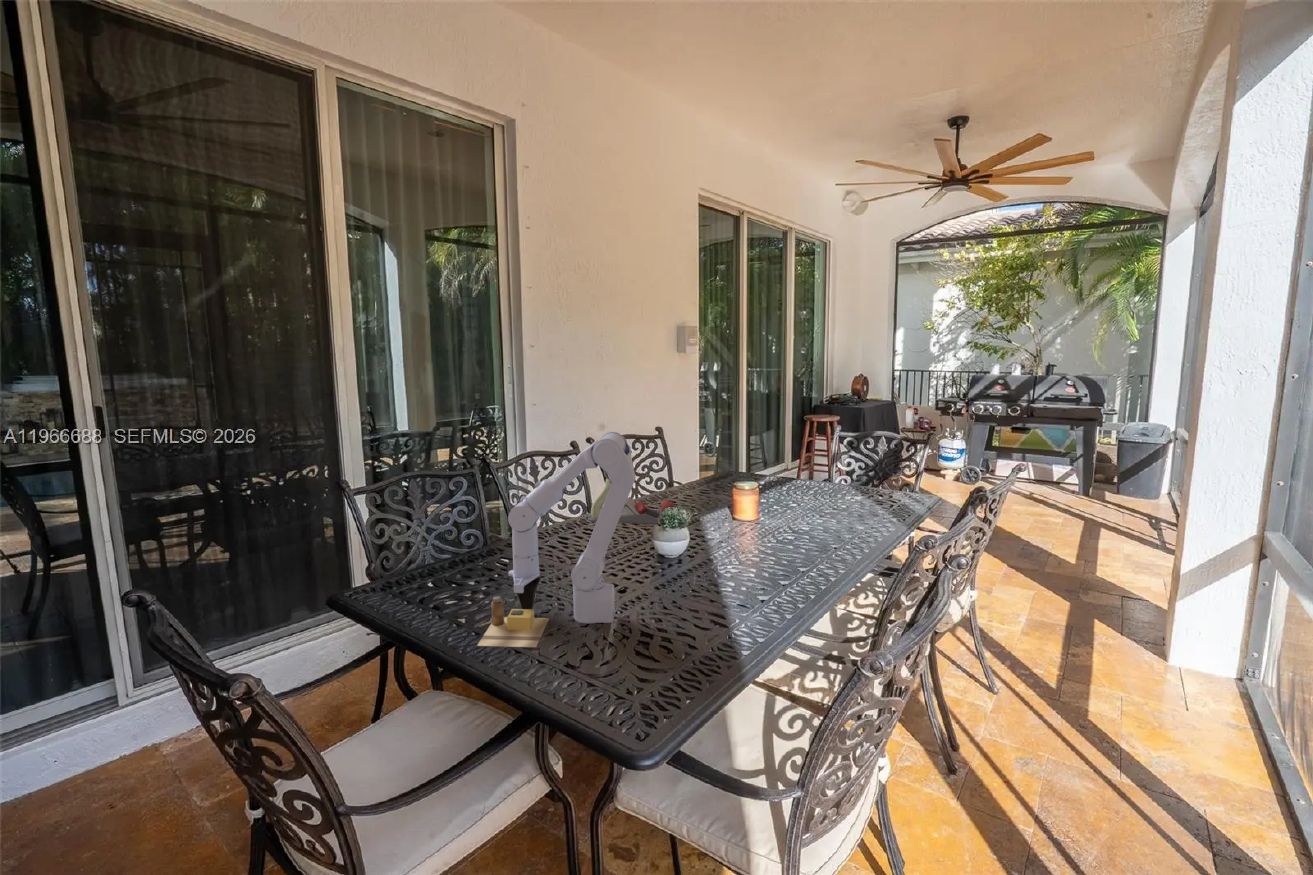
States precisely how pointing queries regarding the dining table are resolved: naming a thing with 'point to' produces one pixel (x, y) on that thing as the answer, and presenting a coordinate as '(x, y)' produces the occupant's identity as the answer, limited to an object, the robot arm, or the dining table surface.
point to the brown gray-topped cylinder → (497, 611)
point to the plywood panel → (514, 635)
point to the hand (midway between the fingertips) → (527, 609)
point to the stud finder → (520, 619)
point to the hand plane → (628, 509)
